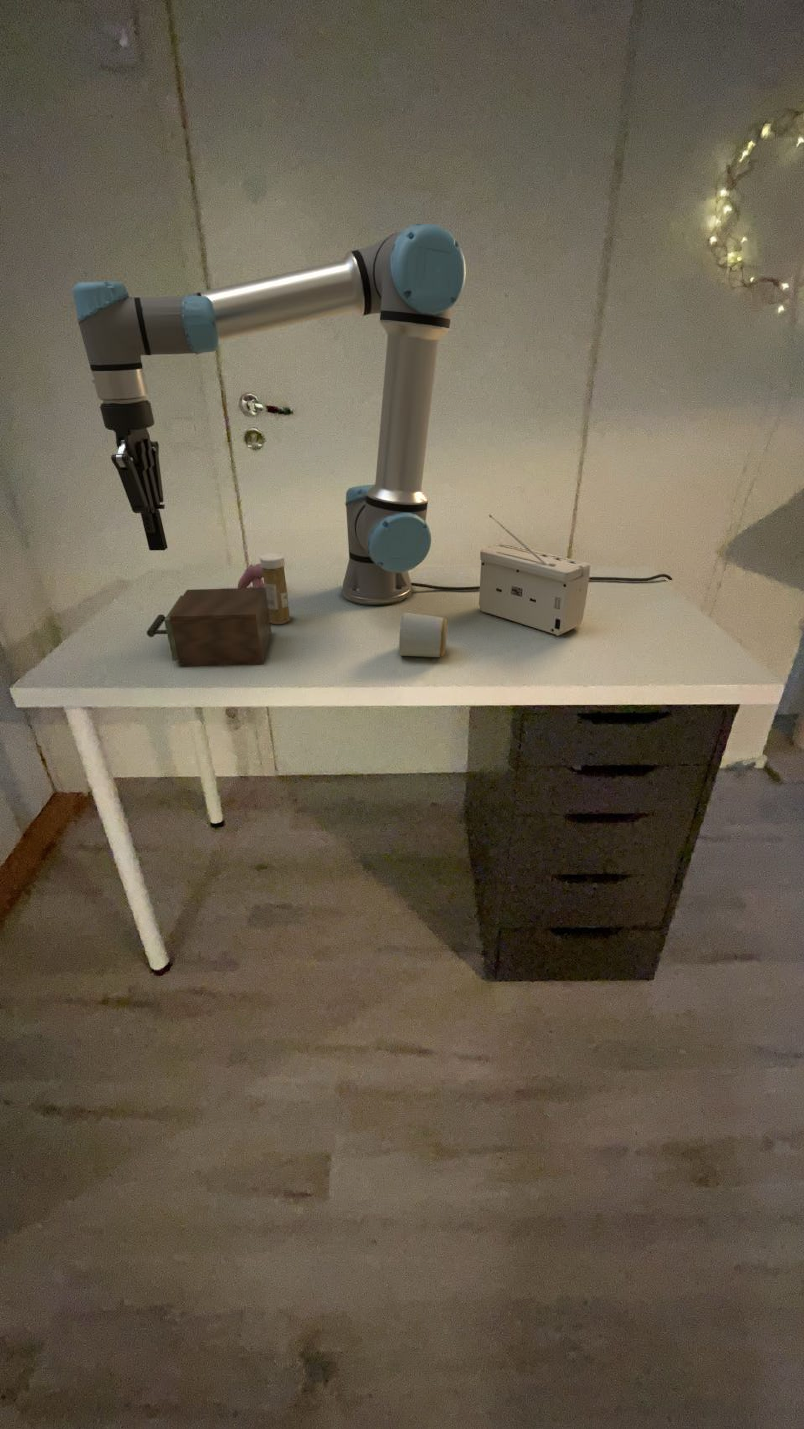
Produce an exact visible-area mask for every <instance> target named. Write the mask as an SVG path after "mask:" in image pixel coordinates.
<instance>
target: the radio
mask: <svg viewBox="0 0 804 1429" xmlns="http://www.w3.org/2000/svg"><path fill="white" fill-rule="evenodd" d="M488 517H489V518H490V519H492V520H494V521H495V522H496V523H497V524H498V525H499V526H500V527H501V528H502V529H503V530H505V532H506V533H508V534H509V535H510V536H511V537H512V538H513V539H514V540H515V541H516V542H518V543H519V544H520V545H521V546H522V547H521V546H517V545H513V544H508V543H504V542H498V543H496V544H493V545H488V546H486V547H485V548H482V549H481V550H480V554H479V556H480V557H479V558H480V559H479V560H480V577H479V586H480V589H479V592H478V593H479V595H478V606H479V608H480V611H481V612H483V613H484V614H485V613H487V614H490V615H493V616H496V617H500V618H502V619H506V620H509V621H512V622H515V623H518V624H522V625H525V626H527V627H531V628H534V629H537V630H541V631H543V632H546V633H549V634H553V635H555V636H557V637H559V636H561V635H563V634H565V633H567V632H569V631H571V630H573V629H575V628H577V627H578V626H579V625H581V624H582V623H583V620H584V615H585V609H586V604H587V596H588V589H589V582H590V580H589V577H590V573H591V564H590V563H588V562H585V561H580V560H576V559H572V558H568V557H564V556H560V555H555V554H551V553H546V552H543V551H538V550H533V549H531V548H530V547H529V546H528V545H527V544H525V543H524V542H523V541H522V540H521V539H519V538H518V537H517V536H516V535H515V534H513V533H512V532H511V531H510V530H509V529H508V528H506V527H505V526H504V525H503V524H502V523H500V522H499V521H498V520H497V519H495V518H494V517H493V515H492V514H489V515H488Z"/></svg>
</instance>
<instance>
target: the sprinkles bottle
mask: <svg viewBox="0 0 804 1429" xmlns="http://www.w3.org/2000/svg"><path fill="white" fill-rule="evenodd" d="M259 562H260V563H259V564H261V567H262V572H263V578H262V580H263V584H264V588H266V594H267V602H268V610H269V617H270V624H273V625H285V624H286V623H288V622H290V621H291V614H290V606H289V604H290V602H289V597H288V596H289V595H288V588H287V581H286V573H285V565H286V564H285V563H286V562H285V557H284V555H283V554H282V553H279V552H271V553H270V552H269V553H264V554H262V555H261V556H260V557H259Z"/></svg>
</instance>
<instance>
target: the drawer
mask: <svg viewBox="0 0 804 1429" xmlns="http://www.w3.org/2000/svg"><path fill="white" fill-rule="evenodd" d="M182 596H183V595H180V596H178V599H177V601H176V602H175V603H174V604H173V606H172V607H171V609H170V610H169V612H168V613H167V615H166V616H165V615H164V614H158V615H157V616H156V617H155V619H154V620H153V622H152V624H151V625H150V626H149V627H148V629H147V630H146V636H148V637H150V638H154V637H155V636H156V635H166V636H167V640H168V644H169V649H170V653H171V658H172V661H179V660H178V655H177V651H176V646H175V641H174V637H173V632H172V627H171V623H170V618H169V616H170V614H171V613H172V611H173V610H174V608H175V607H176V605H177V604H178V602H179V601H180V599H181V598H182ZM163 624H164V627H165V629H160V628H161V627H162V625H163Z"/></svg>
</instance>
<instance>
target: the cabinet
mask: <svg viewBox="0 0 804 1429" xmlns="http://www.w3.org/2000/svg"><path fill="white" fill-rule="evenodd" d="M181 596H182V598H181V599H180V601H179V602H178V604H177V605H176V607H175V608H174V610H173V611H172V613H171V614H170V616H169V618H170V623H171V627H172V632H173V637H174V641H175V646H176V651H177V655H178V660H177V661H178V664H179V667H207V666H209V667H210V666H214V667H215V666H242V665H263V664H264V661H265V657H266V654H267V650H268V648H269V645H270V641H271V638H272V627H271V623H270V617H269V610H268V602H267V594H266V588H263V587H262V588H254V587H247V588H238V587H233V588H203V589H199V588H197V589H186V591H185V592H184V593H183V594H182V595H181Z"/></svg>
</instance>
